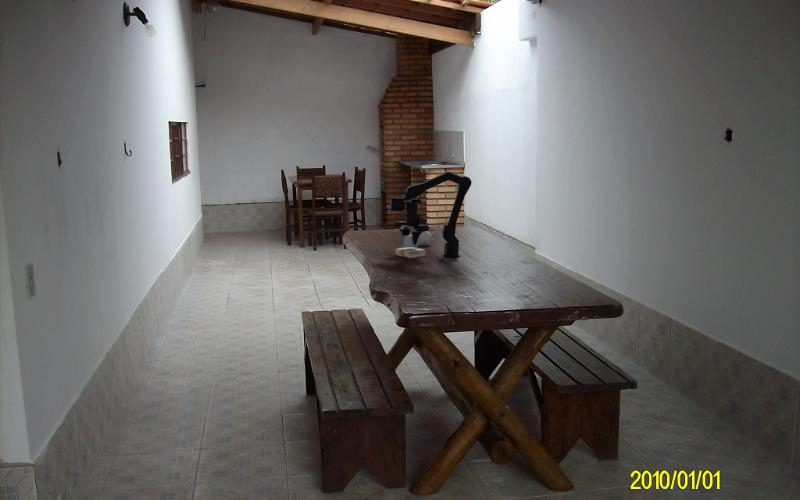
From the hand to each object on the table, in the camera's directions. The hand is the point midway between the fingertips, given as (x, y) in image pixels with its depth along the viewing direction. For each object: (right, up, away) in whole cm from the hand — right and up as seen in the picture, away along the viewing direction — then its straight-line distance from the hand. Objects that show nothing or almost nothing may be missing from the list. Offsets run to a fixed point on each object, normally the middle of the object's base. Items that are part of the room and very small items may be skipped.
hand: (411, 244), depth 351 cm
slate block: (0, -1, 0) cm, 1 cm away
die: (+7, 0, +33) cm, 34 cm away
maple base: (0, -5, +1) cm, 6 cm away
